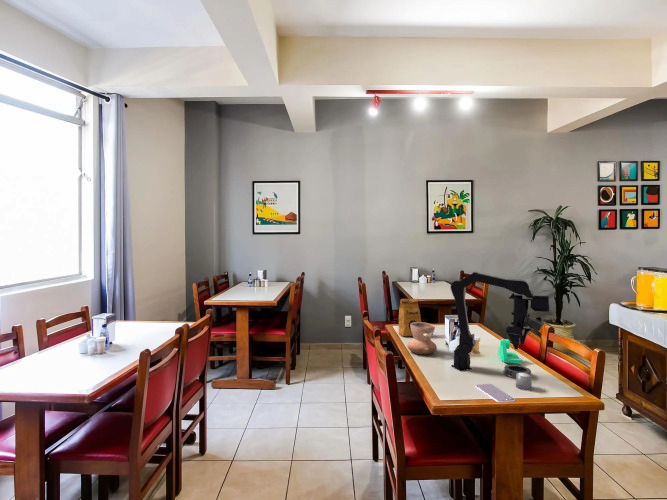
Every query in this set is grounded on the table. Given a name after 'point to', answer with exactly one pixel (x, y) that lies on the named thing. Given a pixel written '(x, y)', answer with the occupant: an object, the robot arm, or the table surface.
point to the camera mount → (507, 353)
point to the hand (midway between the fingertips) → (519, 346)
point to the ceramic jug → (422, 338)
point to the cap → (523, 381)
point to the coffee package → (408, 315)
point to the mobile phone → (495, 393)
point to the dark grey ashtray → (515, 370)
